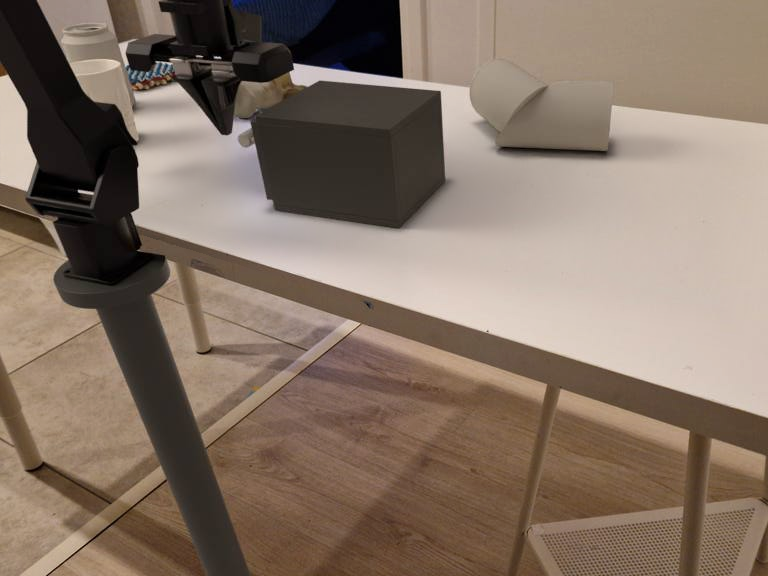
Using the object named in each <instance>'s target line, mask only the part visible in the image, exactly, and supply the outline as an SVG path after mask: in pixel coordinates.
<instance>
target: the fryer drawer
mask: <svg viewBox="0 0 768 576" xmlns="http://www.w3.org/2000/svg"><path fill="white" fill-rule="evenodd" d="M237 141H238V144H239V146H241V147H242V148H245V149H246V148H247V149H248V148H250V147H251V146H253V145H255V149H256V154H257V159H258V164H259V169H260V173H261V178H262V183H263V187H264V192H265V196H266V197H265V198H266V200H268V201H273V199H272V194H271V190H270V185H269V180H268V175H267V171H266V166H265V161H264V156H263V152H262V147H261V142H260V137H259V132H258V128H257V123H256V118H254V119H252V120H250V128H248V129H246V130H245V131H243V132H241V133H239V134H238V135H237Z"/></svg>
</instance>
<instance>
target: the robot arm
mask: <svg viewBox="0 0 768 576" xmlns="http://www.w3.org/2000/svg"><path fill="white" fill-rule="evenodd" d="M39 3H40V2H39V1H38V0H0V63H1V66H2V67H3V70H5V72H6V73H7V76H8V78H9V79H10V81H11V83H12V85H13V86H14V88H15V90H16V91H17V92H18V95H19V96H20V98H21V100H22V102H23V104H24V105H25V108H26V137H27V139H26V140H27V141H28V143H29V146H30V148H31V151H32V153H33V156H34V158H35V161H36V163H35V166H34V170H33V172H32V175H31V178H30V182H29V184H28V188H27V191H26V195H25V201H26V203H27V204H28V205H29V206H30V207H31V208H32V210H33V211H34V212H35V213H36V214H37V215H39V216H42V217H43V216H47V217H53V218H57V219H56V220H54V221H53V222H52V225H53V227H54V230H55V232H56V234H57V237H58V238H59V241H60V243H61V246H62V248H63V250H64V253H65V256H66V258H67V261H68V260H69V263H70V265H71V267H70V268H68V269H66V270H65V271H63V275H64V277H65V278H70V279H76V280H81V281H86V282H91V283H96V284H101V285H107V286H114V285H117V284H118V283H120V282H121V281H123V280H124V279H126V278H127V277H129V276H130V275H131V274H133V273H134V272H136V271H137V270H139V269H140V268H142V267H143V266H145V265H146V264H148V263H149V262H151V261H152V260H153V259H155V255H154V254H155V253H153V252H147V251H142V250H140V249H141V247H142V246H143V244H142V240H141V238H140V235H139V232H138V229H137V226H136V223H135V220H134V218H133V215H132V214H133V213H134V212H136V211H137V210H139V209H140V192H139V190H140V189H139V171H138V168H139V167H140V164H139V158H138V155H137V151H136V149H135V148H134V146H137V145H138V141H136V140H135V139H134V138H133V137H132V136H131V134H130V133H129V131H128V130H127V127H126V125H125V122H124V119H123V115H122V113H121V111H120V110H119V109H118V107H117V106H116V105H115V104H109V103H101V102H94V101H93V100H92V99H91V98H90V97H88V96H87V95H86V94H85V92H84V91H83V89H82V88H81V86H80V84H79V82H78V80H77V78H76V76H75V74H74V72H73V70H72V68H71V66H70V64H69V62H68V60H67V57H66V54H65V51H64V49H63V47H62V45H60V43H59V40H58V39H57V37H56V35H55V33H54V31H53V29H52V26H51V25H50V23H49V21H48V19H47V16H46V15H45V14H44V11H43V10H42V7H41V5H40V4H39ZM158 7H159V10H160V12H161V13H168V14H169V15H170V16H169V17H170V19H171V23H172V27H173V31H174V34H162V33H153V34H150V35H147V36H144V37H141V38H138V39H135V40H132V41H128V43H127V46H126V49H125V57H126V59H127V65H129V67H130V70H132V71H142V72H150V71H152V70H153V68H154V66H155V62H157V63H159V62H161V63H169V64H173V67H174V71H175V74H176V75H174V76H172V77H171V78H172V80H173V81H172V82H173V83H177V84H179V86H180V87H182V89H184V91H185V92H186V93H187V95H188V96H189V97H190V98H191V99H192V100H193V101H194V102H195V103H196V104H197V105H198V107H199V108H200V109H201V111H202V112H203V113H204V115H205V116H206V117H207V119H209V121H210V123H211V124H212V125H213V126H214V127H215V129H216V130H217V131H218V133H220V135H221V136H230V135H231V134H232V133H233V128H234V119H235V115H234V112H235V103H236V97H237V93H238V89H239V86H240V84H241V82H242V81H247V82H257V83H265V82H270V81H272V80H274V79H276V78H278V77H280V76H282V75H284V74H286V73H288V72H289V73H290V72H292V71H293V72H294V70H295V66H294V60H293V53H291V50H290V49H289V48H288V47H287V46H286V45H285V44H284V43H281V42H280V43H277V42H265V41H263V40H262V34H263V33H262V28H263V27H262V24H263V23H262V20H263V19H262V17H263V16H261V15H258V14H254V13H251V12H248V11H244V10H241V9H236V8H235V7H234V2H233V0H158ZM245 44H249V45H247V46H244V47H242V48H239V49H234V47H240V46H243V45H245ZM79 191H82V192H79ZM85 192H87V193H85ZM88 192H89V193H88ZM91 193H92V194H91Z"/></svg>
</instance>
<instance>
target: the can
mask: <svg viewBox="0 0 768 576" xmlns="http://www.w3.org/2000/svg"><path fill="white" fill-rule="evenodd" d="M108 27H109V25H108V24H107V23H103V22H83V23H76V24H72V25H68V26H65V27H62V29H61V32H63V36H62V38H61V40H60V43H61V47H62V50H63V52H64V54H65V56H66V58H67V60H68V62H69V64H70V63H74V62H79V61H85V60H96V59H109V60H115V61H118V62H120V63H121V67H122V71H123V75H124V79H125V82H126V86H127V90H128V93H129V97H130V103H131V106H132V107H133V106H134V105H135V103H136V101H137V100H136V97H135V94H134V91H133V90H134V89H132V87H131V84H130V80H129V77H128V74H127V71H126V64H125V61H124V58H123V55H122V51H121V48H120V45H119V41H118V38H117V35H116V34H114V32H112V31H111V30H109V28H108Z"/></svg>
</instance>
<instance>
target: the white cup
mask: <svg viewBox="0 0 768 576" xmlns="http://www.w3.org/2000/svg"><path fill="white" fill-rule="evenodd" d="M70 66H71V68H72V70H73V72H74V74H75V76H76V78H77V80H78V82H79V84H80V86H81V88H82V89H83V91H84V92H85V94H86V95H87V96H88V97H90V98H91V99H92V100H93V101H94V102H101V103H109V104H115V105H116V106H117V107H118V109H119V110H120V111H121V113H122V115H123V119H124V122H125V125H126V127H127V130H128V131H129V133H130V134H131V136H132V137H133V138H134V139H135V140H136V141H137V142H138V141H140V138H139V137H140V136H139V133H138V130H137V126H136V122H135V115H134V110H133V106H131V103H130V97H129V93H128V90H127V86H126V82H125V79H124V75H123V71H122V67H121V63H120V62H118V61H115V60H109V59H96V60H85V61H79V62H74V63H70Z"/></svg>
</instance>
